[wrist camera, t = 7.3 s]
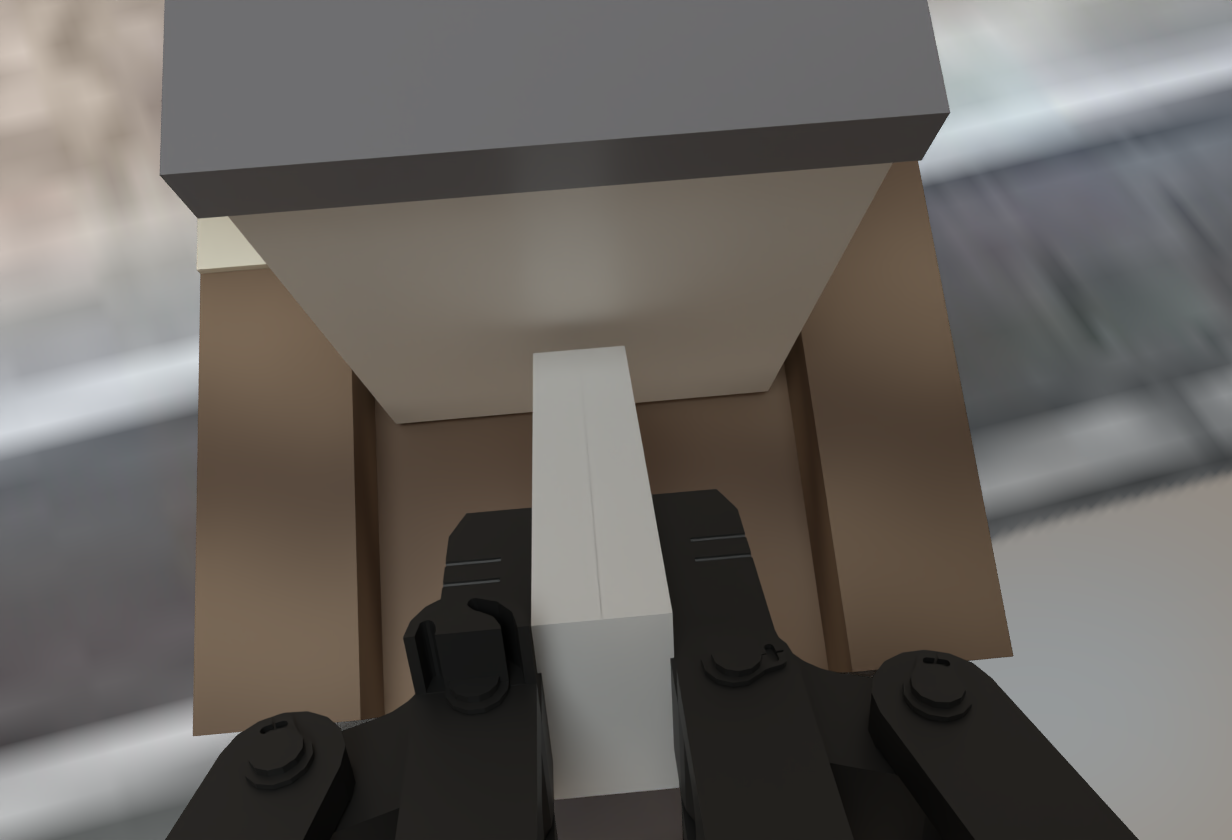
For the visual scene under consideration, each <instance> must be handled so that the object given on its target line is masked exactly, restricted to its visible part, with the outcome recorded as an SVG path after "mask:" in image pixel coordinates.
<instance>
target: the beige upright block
mask: <svg viewBox="0 0 1232 840" xmlns="http://www.w3.org/2000/svg"><path fill="white" fill-rule="evenodd" d="M949 113H950V110H949V105H948V100H947V95H946V90H945V85H944V80H943V75H942V71H941V66H940V61H939V56H938V51H937V46H936V41H935V36H934V32H933V27H932V22H931V17H930V12H929V7H928V2H927V0H165V11H164V45H163V79H162V114H161V148H160V176H161V177H162V178H163V179H164V180H165V182H166V183H167V184H168V185H169V186H170V187H171V188H172V190H173V191H174V192H175V193H176V194H177V195H178V196H179V198H180V199H181V200H182V201H183V202H184V203H185V204H186V205H187V207H188V208H189V209H190V210H191V211H192V212H193V213H194V215H195V216H196V217H197V218H198V219H200V218H213V217H225V216H228V217H229V218H230V219H231V221H232V222H233V223H234V224H235V226H236V227H237V228H238V229H239V231H240V232H241V233H242V234H243V236H244V237H245V238H246V239H247V240H248V242H249V243H250V244H251V245H252V247H253V248H254V249H255V250H256V252H257V253H258V254H259V255H260V257H261V258H262V259H263V260H264V261H265V263H266V264H267V265H268V266H269V268H270V269H271V270H272V271H273V273H274V274H275V275H276V276H277V278H278V279H279V280H280V281H281V282H282V284H283V285H284V286H285V287H286V289H287V290H288V291H289V292H290V294H291V295H292V296H293V297H294V299H295V300H296V301H297V302H298V303H299V305H300V306H301V307H302V308H303V310H304V311H305V312H306V313H307V315H308V316H309V317H310V318H311V320H312V321H313V322H314V323H315V324H316V326H317V327H318V328H319V329H320V331H321V332H322V333H323V334H324V336H325V337H326V338H327V339H328V341H329V342H330V343H331V344H332V345H333V347H334V348H335V349H336V350H337V352H338V353H339V354H340V355H341V357H342V358H343V359H344V360H345V362H346V363H347V364H348V365H349V366H350V368H351V369H352V370H353V371H354V373H355V374H356V375H357V376H358V378H359V379H360V380H361V381H362V383H363V384H364V385H365V386H366V387H367V389H368V390H369V391H370V392H371V394H372V395H373V396H374V397H375V399H376V400H377V401H378V402H379V404H380V405H381V406H382V407H383V408H384V410H385V411H386V412H387V413H388V415H389V416H390V417H391V418H392V420H393V421H394V422H395V423H396V424H401V423H412V422H424V421H435V420H446V419H458V418H469V417H481V416H492V415H503V414H515V413H526V412H533V353H542V352H554V351H566V350H578V349H590V348H602V347H614V346H625V351H626V356H627V362H628V367H629V373H630V378H631V384H632V390H633V395H634V401H635V403H640V402H651V401H663V400H674V399H685V398H697V397H708V396H720V395H731V394H742V393H754V392H765V391H768V390H769V388H770V387H771V385H772V383H773V381H774V379H775V378H776V376H777V374H778V372H779V370H780V368H781V367H782V365H783V363H784V361H785V359H786V357H787V356H788V354H789V352H790V350H791V348H792V346H793V345H794V343H795V341H796V339H797V337H798V335H799V334H800V332H801V330H802V328H803V326H804V324H805V323H806V321H807V319H808V317H809V315H810V313H811V312H812V310H813V308H814V306H815V304H816V302H817V301H818V299H819V297H820V295H821V293H822V291H823V290H824V288H825V286H826V284H827V282H828V281H829V279H830V277H831V275H832V273H833V271H834V270H835V268H836V266H837V264H838V262H839V260H840V259H841V257H842V255H843V253H844V251H845V249H846V248H847V246H848V244H849V242H850V240H851V238H852V237H853V235H854V233H855V231H856V229H857V227H858V226H859V224H860V222H861V220H862V218H863V216H864V215H865V213H866V211H867V209H868V207H869V205H870V204H871V202H872V200H873V198H874V196H875V195H876V193H877V191H878V189H879V187H880V185H881V184H882V182H883V180H884V178H885V176H886V174H887V173H888V171H889V169H890V167H891V165H892V163H894V162H907V161H919V160H922V159H923V157H924V155H925V154H926V152H927V150H928V149H929V147H930V145H931V144H932V142H933V140H934V139H935V137H936V135H937V133H938V132H939V130H940V128H941V127H942V125H943V123H944V122H945V120H946V118H947V117H948V115H949Z"/></svg>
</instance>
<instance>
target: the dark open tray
mask: <svg viewBox="0 0 1232 840" xmlns="http://www.w3.org/2000/svg"><path fill="white" fill-rule="evenodd" d="M197 271H198V272H199V273H200V274H201V279H200V339H199V399H198V459H197V519H196V579H195V640H194V700H193V736H201V735H211V734H222V733H232V732H242V731H244V730H246V729H248V728H249V727H251V726H252V725H254V724H255V723H257V722H258V721H261V720H264V719H267V718H269V717H272V716H275V715H278V714H281V713H286V712H302V711H309V712H312V713H316V714H320V715H323V716H327V717H328V718H329V719H331V720H332V721H333V722H345V721H355V720H364V719H371V718H378V717H381V716H383V715H386V714H388V713H390V712H392V711H394V710H395V709H397V708H398V707H400V706H401V705H403V704H404V703H406V702H407V701H409V700H410V699H411V698H412V697H413V696H414V695H415V691H414V686H413V682H412V677H411V673H410V668H409V664H408V659H407V655H406V650H405V645H404V641H403V636H404V634H405V632H406V629H407V627H408V625H409V623H410V621H411V620H412V619H413V618H414V617H415V616H416V615H417V614H418V613H419V612H420V611H421V610H422V609H423V608H425V607H426V606H428V605H430V604H432V603H434V602H436V601H438V600H440V599H441V593H442V588H443V577H444V569H445V567H446V554H447V546H448V539H449V536H450V534H451V533H452V532H453V530H454V529H455V528H456V526H457V525H458V524H459V522H460V521H461V520H462V518H463V517H464V516H465V514H466V513H475V512H486V511H498V510H509V509H520V508H532V443H533V412H526V413H515V414H503V415H492V416H481V417H469V418H458V419H446V420H435V421H424V422H412V423H401V424H396V423H395V422H394V421H393V420H392V418H391V417H390V416H389V415H388V413H387V412H386V411H385V410H384V408H383V407H382V406H381V405H380V404H379V402H378V401H377V400H376V399H375V397H374V396H373V395H372V394H371V392H370V391H369V390H368V389H367V387H366V386H365V385H364V384H363V383H362V381H361V380H360V379H359V378H358V376H357V375H356V374H355V373H354V371H353V370H352V369H351V368H350V366H349V365H348V364H347V363H346V362H345V360H344V359H343V358H342V357H341V355H340V354H339V353H338V352H337V350H336V349H335V348H334V347H333V345H332V344H331V343H330V342H329V341H328V339H327V338H326V337H325V336H324V334H323V333H322V332H321V331H320V329H319V328H318V327H317V326H316V324H315V323H314V322H313V321H312V320H311V318H310V317H309V316H308V315H307V313H306V312H305V311H304V310H303V308H302V307H301V306H300V305H299V303H298V302H297V301H296V300H295V299H294V297H293V296H292V295H291V294H290V292H289V291H288V290H287V289H286V287H285V286H284V285H283V284H282V282H281V281H280V280H279V279H278V278H277V276H276V275H275V274H274V273H273V271H272V270H271V269H270V268H269V266H268V265H267V264H266V263H265V261H264V260H263V259H262V258H261V257H260V255H259V254H258V253H257V252H256V250H255V249H254V248H253V247H252V245H251V244H250V243H249V242H248V240H247V239H246V238H245V237H244V236H243V234H242V233H241V232H240V231H239V229H238V228H237V227H236V226H235V224H234V223H233V222H232V221H231V219H230V218H229V217H228V216H225V217H213V218H200V219H198V220H197ZM635 406H636V412H637V418H638V423H639V429H640V434H641V440H642V445H643V451H644V457H645V462H646V468H647V473H648V479H649V485H650V490H651V495H652V494H663V493H675V492H686V491H697V490H709V489H717V490H718V491H719V492H720V493H721V494H723V495H724V496H725V497H726V498H727V499H728V500H729V501H730V502H731V503H732V504H733V505H734V506H735V507H736V508H737V509H738V511H739V515H740V518H741V521H742V525H743V528H744V531H745V537H746V538H747V541H748V544H749V547H750V551H751V557H753V560H754V564H755V567H756V570H757V573H758V577H759V580H760V583H761V586H762V590H763V593H764V596H765V599H766V603H767V606H768V609H769V612H770V616H771V619H772V622H773V625H774V629H775V631H776V633H777V635H778V637H779V638H780V639H782V640H783V641H784V642H786V643H787V645H788V646H789V648H790V649H791V651H792V653H793V654H795V655H796V656H798V657H799V658H800V659H802V660H803V661H805V662H807V663H810V664H812V665H814V666H817V667H819V668H821V669H825V670H830V671H834V672H838V673H843V672H858V671H868V670H878V669H879V667H880V666H881V665H882V663H883V662H884V661H886V660H888V659H890V658H892V657H894V656H896V655H898V654H900V653H902V652H910V651H918V650H931V651H938V652H944V653H950V654H952V655H955V656H957V657H960V658H962V659H964V660H967V661H970V660H981V659H991V658H1001V657H1012V656H1013V652H1012V647H1011V642H1010V636H1009V631H1008V627H1007V621H1006V616H1005V610H1004V605H1003V601H1002V595H1001V590H1000V584H999V579H998V574H997V569H996V564H995V559H994V553H993V548H992V543H991V538H990V533H989V527H988V522H987V517H986V512H985V507H984V502H983V496H982V491H981V486H980V481H979V476H978V470H977V465H976V460H975V455H974V450H973V445H972V439H971V434H970V429H969V424H968V419H967V413H966V408H965V403H964V398H963V393H962V387H961V382H960V377H959V372H958V367H957V362H956V356H955V351H954V346H953V341H952V336H951V330H950V325H949V320H948V315H947V310H946V305H945V299H944V294H943V289H942V284H941V279H940V273H939V268H938V263H937V258H936V253H935V247H934V242H933V237H932V232H931V227H930V222H929V216H928V211H927V206H926V201H925V196H924V190H923V185H922V180H921V175H920V170H919V165H918V161H907V162H894V163H892V165H891V167H890V169H889V171H888V173H887V174H886V176H885V178H884V180H883V182H882V184H881V185H880V187H879V189H878V191H877V193H876V195H875V196H874V198H873V200H872V202H871V204H870V205H869V207H868V209H867V211H866V213H865V215H864V216H863V218H862V220H861V222H860V224H859V226H858V227H857V229H856V231H855V233H854V235H853V237H852V238H851V240H850V242H849V244H848V246H847V248H846V249H845V251H844V253H843V255H842V257H841V259H840V260H839V262H838V264H837V266H836V268H835V270H834V271H833V273H832V275H831V277H830V279H829V281H828V282H827V284H826V286H825V288H824V290H823V291H822V293H821V295H820V297H819V299H818V301H817V302H816V304H815V306H814V308H813V310H812V312H811V313H810V315H809V317H808V319H807V321H806V323H805V324H804V326H803V328H802V330H801V332H800V334H799V335H798V337H797V339H796V341H795V343H794V345H793V346H792V348H791V350H790V352H789V354H788V356H787V357H786V359H785V361H784V363H783V365H782V367H781V368H780V370H779V372H778V374H777V376H776V378H775V379H774V381H773V383H772V385H771V387H770V388H769V390H768V391H765V392H754V393H742V394H731V395H720V396H708V397H697V398H685V399H674V400H663V401H651V402H640V403H635Z"/></svg>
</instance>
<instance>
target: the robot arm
mask: <svg viewBox="0 0 1232 840" xmlns="http://www.w3.org/2000/svg"><path fill="white" fill-rule="evenodd" d="M403 641H404V645H405V650H406V655H407V659H408V664H409V668H410V673H411V677H412V682H413V686H414V691H415V695H414V696H413V697H412V698H411V699H410V700H409V701H407V702H406V703H404V704H403V705H401V706H400V707H398V708H397V709H395V710H394V711H392V712H390V713H388V714H386V715H383V716H381V717H379V718H377V719H374V720H372V721H369V722H366V723H363V724H360V725H357V726H355V727H352V728H349V729H346V730H343V731H341V728H339V727H338V726H337V725H336V724H335V723H334V722H333V721H332V720H331V719H329V718H328V717H327V716H323V715H320V714H316V713H312V712H309V711H302V712H286V713H281V714H278V715H275V716H272V717H269V718H267V719H264V720H261V721H258V722H257V723H255V724H254V725H252V726H251V727H249V728H248V729H246V730H244V731H243V732H241V733H240V734H238V735H237V736H236V737H235V738H234V739H233V740H232V741H231V743H230V744H229V745H228V746H227V747H226V748H225V749H224V750H223V751H222V753H221V754H220V755H219V757H218V758H217V760H216V761H215V763H214V765H213V766H212V768H211V769H210V771H209V772H208V774H207V775H206V777H205V779H204V780H203V782H202V783H201V785H200V786H199V788H198V789H197V791H196V793H195V794H194V796H193V797H192V799H191V800H190V802H189V804H188V805H187V807H186V808H185V810H184V811H183V813H182V814H181V816H180V818H179V819H178V821H177V822H176V824H175V825H174V827H173V828H172V830H171V832H170V833H169V835H168V836H167V838H166V839H165V840H558V838H557V830H556V823H555V815H554V800H558V799H568V798H578V797H589V796H599V795H609V794H619V793H630V792H640V791H650V790H661V789H671V788H679V785H680V791H681V800H682V827H683V840H1139V839H1138V838H1137V837H1136V836H1135V835H1134V834H1133V833H1132V832H1131V831H1130V830H1129V829H1128V827H1127V826H1126V825H1125V824H1124V823H1123V822H1122V821H1121V820H1120V819H1119V818H1118V817H1117V815H1116V814H1115V813H1114V812H1113V811H1112V810H1111V809H1110V808H1109V807H1108V805H1106V803H1105V802H1104V801H1103V800H1102V799H1101V798H1100V797H1099V796H1098V794H1097V793H1096V792H1095V791H1094V790H1093V789H1092V788H1091V787H1090V786H1089V785H1088V783H1087V782H1086V781H1085V780H1084V779H1083V778H1082V777H1081V776H1080V775H1079V774H1078V772H1077V771H1076V770H1075V769H1074V768H1073V767H1072V766H1071V765H1070V764H1069V763H1068V761H1066V759H1065V758H1064V757H1063V756H1062V755H1061V754H1060V753H1059V752H1058V751H1057V749H1056V748H1055V747H1054V746H1053V745H1052V744H1051V743H1050V742H1049V741H1048V740H1047V738H1046V737H1045V736H1044V735H1043V734H1042V733H1041V732H1040V731H1039V730H1038V729H1037V727H1036V726H1035V725H1034V724H1033V723H1032V722H1031V721H1030V720H1029V719H1028V718H1027V717H1026V715H1025V714H1024V713H1023V712H1022V711H1021V710H1020V709H1019V708H1018V707H1017V705H1016V704H1015V703H1014V702H1013V701H1012V700H1011V699H1010V698H1009V697H1008V696H1007V695H1006V693H1005V692H1004V691H1003V690H1002V689H1001V688H1000V687H999V686H998V685H997V683H996V682H995V681H994V680H993V679H992V678H991V677H990V676H988V675H987V674H986V673H985V672H983V671H982V670H981V669H980V668H978V667H977V666H976V665H974V664H973V663H972V662H969V661H967V660H964V659H962V658H960V657H957V656H955V655H952V654H950V653H944V652H938V651H931V650H918V651H910V652H902V653H900V654H898V655H896V656H894V657H892V658H890V659H888V660H886V661H884V662H883V663H882V665H881V666H880V667H879V669H878V670H877V671H876V673H875V674H874V675H873V678H869V677H863V676H856V675H850V674H843V673H838V672H834V671H830V670H825V669H821V668H819V667H817V666H814V665H812V664H810V663H807V662H805V661H803V660H802V659H800V658H799V657H798V656H796V655H795V654H793V653H792V651H791V649H790V648H789V646H788V645H787V643H786V642H784V641H783V640H782V639H780V638H779V637H778V635H777V633H776V631H775V629H774V625H773V622H772V619H771V616H770V612H769V609H768V606H767V603H766V599H765V596H764V593H763V590H762V586H761V583H760V580H759V577H758V573H757V570H756V567H755V564H754V560H753V557H751V551H750V547H749V544H748V541H747V538H746V537H745V531H744V528H743V525H742V521H741V518H740V515H739V511H738V509H737V508H736V507H735V506H734V505H733V504H732V503H731V502H730V501H729V500H728V499H727V498H726V497H725V496H724V495H723V494H721V493H720V492H719V491H718V490H717V489H709V490H697V491H686V492H675V493H663V494H652V495H651V490H650V485H649V479H648V473H647V468H646V462H645V457H644V451H643V445H642V440H641V434H640V429H639V423H638V418H637V412H636V406H635V401H634V395H633V390H632V384H631V378H630V373H629V367H628V362H627V356H626V351H625V346H614V347H602V348H590V349H578V350H566V351H554V352H542V353H533V443H532V508H520V509H509V510H498V511H486V512H475V513H466V514H465V516H464V517H463V518H462V520H461V521H460V522H459V524H458V525H457V526H456V528H455V529H454V530H453V532H452V533H451V534H450V536H449V539H448V546H447V554H446V567H445V569H444V577H443V588H442V593H441V599H440V600H438V601H436V602H434V603H432V604H430V605H428V606H426V607H425V608H423V609H422V610H421V611H420V612H419V613H418V614H417V615H416V616H415V617H414V618H413V619H412V620H411V621H410V623H409V625H408V627H407V629H406V632H405V634H404V636H403Z"/></svg>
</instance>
